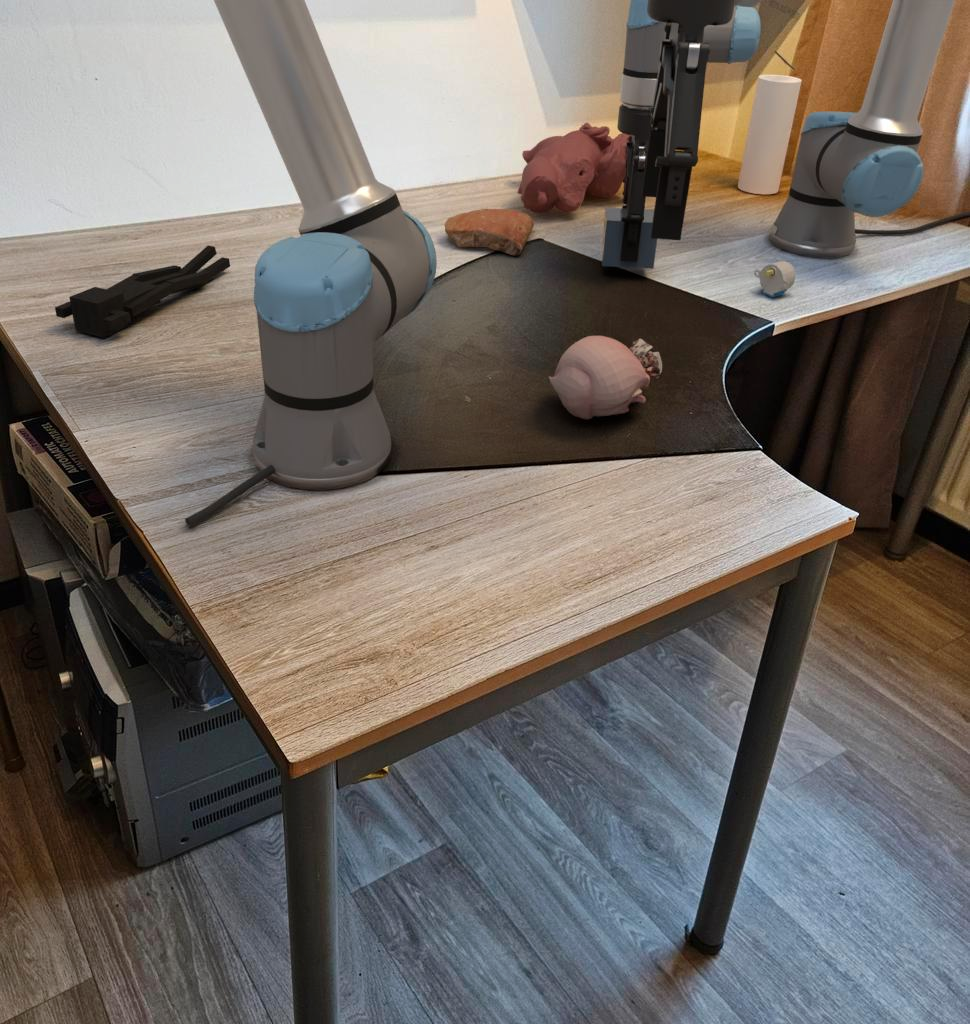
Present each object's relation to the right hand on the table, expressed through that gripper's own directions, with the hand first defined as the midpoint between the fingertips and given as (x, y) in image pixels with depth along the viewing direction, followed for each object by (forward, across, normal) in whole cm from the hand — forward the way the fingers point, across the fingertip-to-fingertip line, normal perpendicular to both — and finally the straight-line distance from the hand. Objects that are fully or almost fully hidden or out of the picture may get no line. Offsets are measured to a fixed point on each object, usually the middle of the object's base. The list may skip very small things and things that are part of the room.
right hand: (627, 252), depth 159 cm
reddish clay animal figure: (+4, +37, +8) cm, 38 cm away
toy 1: (+2, -26, +70) cm, 75 cm away
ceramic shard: (+3, +12, +24) cm, 27 cm away
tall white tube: (+4, +57, -30) cm, 65 cm away
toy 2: (+3, -50, +6) cm, 50 cm away
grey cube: (+1, 0, 0) cm, 1 cm away
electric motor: (+4, -6, -23) cm, 24 cm away
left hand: (-25, -61, +2) cm, 66 cm away
